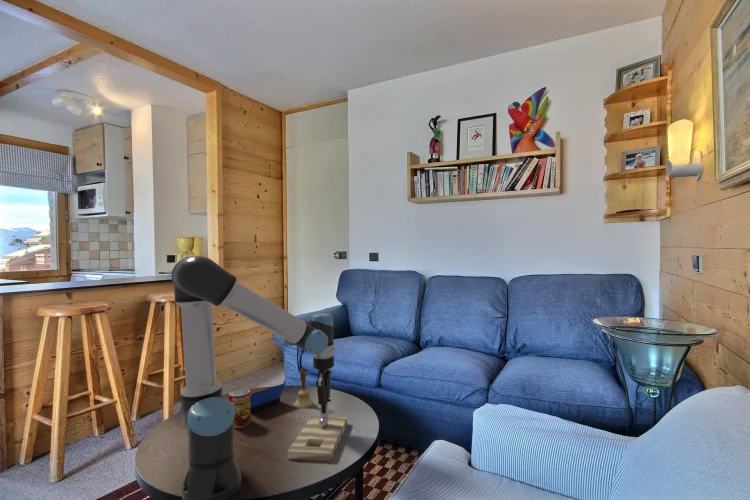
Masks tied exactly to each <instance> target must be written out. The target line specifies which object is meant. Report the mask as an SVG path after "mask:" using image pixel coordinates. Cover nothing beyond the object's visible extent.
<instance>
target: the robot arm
mask: <svg viewBox="0 0 750 500" xmlns="http://www.w3.org/2000/svg"><path fill="white" fill-rule="evenodd" d="M170 279H171V282H172V284H173V292H174V303H175V305H178V306H179V308H180V311H181V312H180V314H181V330H182V331H181V332H182V343H183V344H182V346H183V347H182V348H183V361H184V362H183V363H184V378H185V386H184V387H183V388H182V389H181V391H180V403H181V404H180V409H179V417H180V420H181V422H182V424H183V426H184V429H185V432H186V436H187V439H188V468H187V471H186V473H185V478H184V479H183V480H184V481H183V484H182V487H181V499H182V500H228V499H230V498H231V497H233V496H234V495H236V494H237V492H239V490H240V488H241V486H242V474H241V473H242V472H241V471H240V467H239V465H238V463H237V460H236V457H235V433H234V432H235V428H234V410H233V405H232V403H231V402H230V401H229V399H227V398H224V397H223V396H224V395H223V384H222V383H221V382H220V381H219V380H217V371H216V370H217V368H216V353H215V352H216V351H215V350H216V349H215V338H214V336H215V335H214V319H213V307H212V305H214V306H215V307H225V308H228V309H229V310H231V311H233V312H235V313H236V314H238V315H241V317H243V318H245V319H247V320H249V321H251V322H253V323H255V324H256V325H258V326H260V327H262V328H264V329H265V330H268V331H269V332H271V333H273V334H274V335H277V337H279V341H280V344H281V345H282V347H292V346H296V347H298V348H300V349H301V350H304V351H305V352H307V353H309V354H311V355H312V356H313V357H312V364H313V366H312V367H313V368H314V369H316V370H318V372H317V375H316V376H317V377H316V378H317V380H316V381H315V384H316V390H317V392H316V393H317V400H318V402H317V404H318V405H320V406H319V407H320V408H319V409H320V416H321V418H326V419H327V420H328V421H329V417H330V414H329V412H330V410H329V409H330V407H329V404H330V403H329V402H331V401H332V400H331V399H330V398H331V376H332V375H331V374H332V370H330V369H332V368H334V366H335V357H334V353H335V352H334V351H335V350H336V347H335V346H334V344H335V343H334V342H335V341H334V326H335V325H334V319H333V317H334V316H333V315H332V314H331V313H328V312H327V313H326V312H321V313H320V312H319V313H315V314H313V315H312V318H311V320H309V321H308V320H307V321H304V320H303V319H300V318H299V317H297V316H295V315H294V314H292V313H290V312H289V311H287V310H285V309H283V308H282V307H280V306H279V305H277V304H275V303H273V302H271V301H270V300H269V299H267V298H265V297H263V296H261V295H260V294H258V293H257V292H255V291H253V290H251V289H250V288H248V287H246V286H245V285H243V284H242V283H240V282H239V281H238V278H237V276H235V275H233V274H232V273H230V272H229V271H228V270H226V269H224V268H223V267H222V266H220V265H219V264H218V263H217V262H215V261H214V260H212V259H211V258H209V257H206V256H199V255H195V256H194V255H191V256H186V257H184V258H182V259H180V260H178V261H177V263H176V264H175V265H174V267H173V268H172V270H171V277H170Z"/></svg>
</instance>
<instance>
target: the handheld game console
mask: <svg viewBox="0 0 750 500" xmlns="http://www.w3.org/2000/svg"><path fill="white" fill-rule="evenodd" d="M284 388H285V384H284V383H281V384H279V385H275V386H272V387H269V388H265V389H263V390H259V391H256V392H254V393H252V394H250V412H251V413H252V412H254V411H256V410H257V411H258V410H260V409H263V408H264V407H265V408H266V407H268V406H271V405H274V404H277V403H280V402H281V396H282V393H283V390H284Z"/></svg>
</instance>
